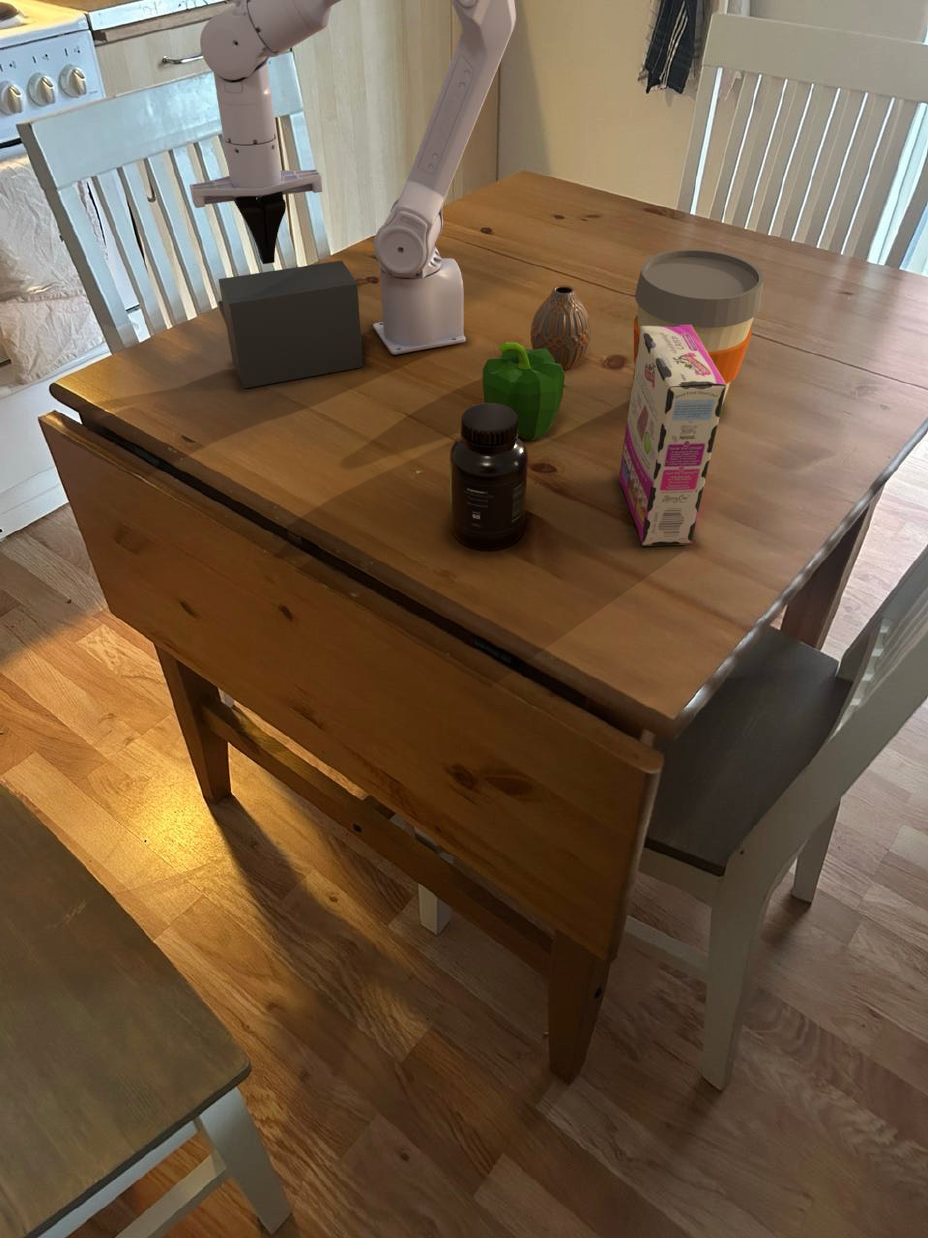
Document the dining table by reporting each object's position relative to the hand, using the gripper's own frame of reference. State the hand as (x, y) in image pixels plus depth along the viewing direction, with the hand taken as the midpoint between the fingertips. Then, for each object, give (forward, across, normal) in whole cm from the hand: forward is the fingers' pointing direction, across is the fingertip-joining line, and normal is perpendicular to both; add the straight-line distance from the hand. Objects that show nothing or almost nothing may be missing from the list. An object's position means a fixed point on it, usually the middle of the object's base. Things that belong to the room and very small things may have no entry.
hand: (267, 260), depth 114 cm
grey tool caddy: (+3, 0, +14) cm, 15 cm away
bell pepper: (+8, -19, +33) cm, 39 cm away
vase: (+8, -29, +21) cm, 37 cm away
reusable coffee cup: (+8, -37, +35) cm, 51 cm away
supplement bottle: (+8, -9, +48) cm, 49 cm away
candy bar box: (+8, -25, +51) cm, 57 cm away
